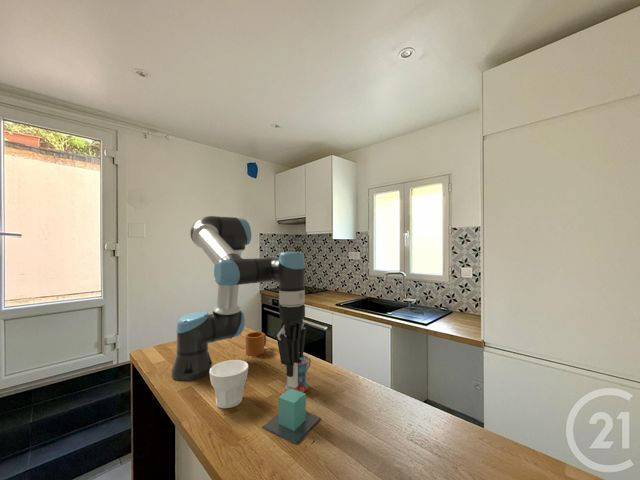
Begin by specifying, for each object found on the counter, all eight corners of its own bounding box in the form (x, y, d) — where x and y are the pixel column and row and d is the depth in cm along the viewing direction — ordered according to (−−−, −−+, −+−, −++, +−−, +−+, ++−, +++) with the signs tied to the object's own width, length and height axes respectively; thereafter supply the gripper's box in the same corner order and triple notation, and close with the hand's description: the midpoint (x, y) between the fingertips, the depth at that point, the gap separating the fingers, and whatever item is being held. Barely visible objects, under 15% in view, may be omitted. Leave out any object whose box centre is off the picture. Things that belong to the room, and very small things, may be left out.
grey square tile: (262, 428, 76) (262, 404, 76) (288, 406, 86) (288, 386, 86) (296, 444, 69) (296, 419, 69) (320, 419, 79) (320, 397, 80)
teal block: (278, 423, 77) (278, 397, 77) (290, 413, 81) (290, 388, 81) (294, 431, 74) (294, 403, 74) (305, 419, 78) (305, 393, 79)
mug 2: (296, 399, 90) (296, 367, 90) (278, 390, 96) (278, 360, 96) (319, 385, 99) (319, 356, 99) (301, 377, 105) (301, 350, 105)
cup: (210, 417, 81) (211, 380, 81) (207, 396, 92) (207, 364, 92) (252, 405, 86) (252, 371, 87) (244, 387, 97) (244, 357, 98)
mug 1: (273, 351, 132) (273, 332, 132) (252, 358, 123) (252, 339, 123) (262, 346, 138) (262, 328, 138) (241, 353, 129) (241, 334, 129)
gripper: (288, 310, 71) (288, 400, 70) (314, 301, 82) (315, 379, 81) (267, 307, 75) (267, 392, 74) (295, 299, 86) (295, 373, 85)
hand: (292, 385), depth 78 cm, fingers closed
